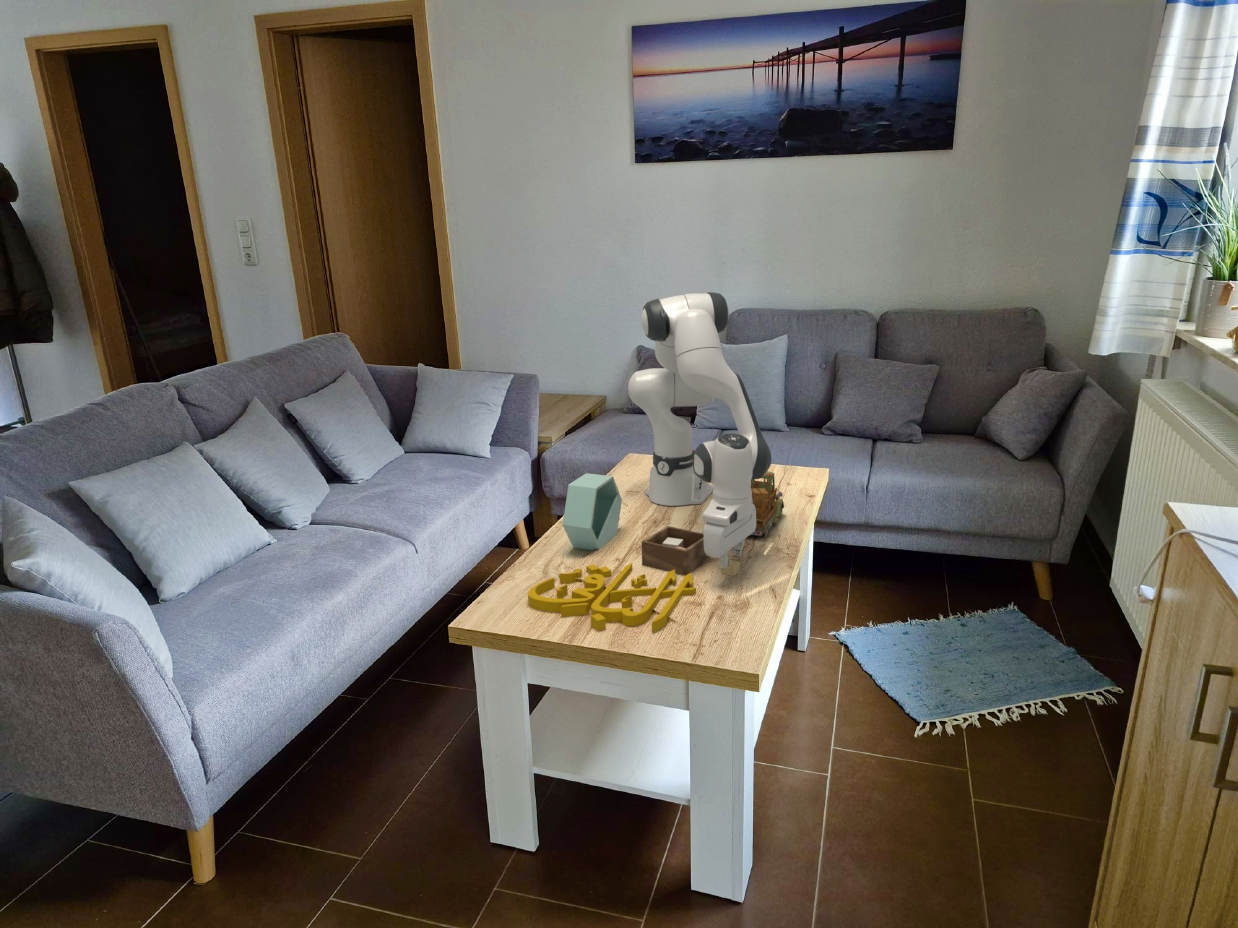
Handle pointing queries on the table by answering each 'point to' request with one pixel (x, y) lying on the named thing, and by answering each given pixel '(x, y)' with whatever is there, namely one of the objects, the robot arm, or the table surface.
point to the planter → (592, 511)
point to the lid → (731, 568)
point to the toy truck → (766, 504)
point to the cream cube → (673, 542)
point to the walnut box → (674, 551)
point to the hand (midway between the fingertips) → (730, 561)
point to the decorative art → (610, 597)
